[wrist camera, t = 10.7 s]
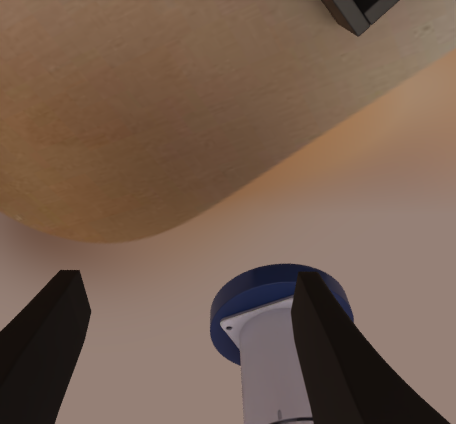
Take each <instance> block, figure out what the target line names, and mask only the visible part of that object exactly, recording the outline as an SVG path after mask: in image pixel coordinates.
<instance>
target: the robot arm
mask: <svg viewBox="0 0 456 424" xmlns="http://www.w3.org/2000/svg"><path fill="white" fill-rule="evenodd" d="M90 315H91V309H90V305H89V302H88V298H87V295H86V291H85V288H84V284H83V281H82V278H81V274H80V270H60V271H59V272H58V273H57V274H56V275H55V276H54V277H53V278H52V279H51V280H50V281H49V282H48V283H47V285H46V286H45V287H44V288H43V289H42V290H41V291H40V292H39V293H38V294H37V295H36V296H35V297H34V298H33V299H32V300H31V301H30V303H29V304H28V305H27V306H26V307H25V308H24V309H23V310H22V311H21V312H20V313H19V314H18V315H17V316H16V317H15V318H14V319H13V320H12V321H11V322H10V323H9V324H8V325H7V326H6V327H5V328H4V329H3V330H2V331H0V424H55V421H56V418H57V415H58V412H59V409H60V406H61V403H62V401H63V398H64V395H65V392H66V390H67V387H68V384H69V382H70V379H71V376H72V373H73V371H74V368H75V366H76V363H77V360H78V357H79V354H80V352H81V349H82V346H83V343H84V340H85V336H86V332H87V328H88V324H89V319H90ZM220 325H221V327H222V328H223V329H224V331H225V332H226V333H227V334H228V336H229V337H230V338H231V339H232V341H233V342H234V343H235V344H236V346H237V347H238V348H239V349H240V359H241V376H242V377H241V378H242V396H243V414H244V424H450V423H449V422H448V421H447V420H446V419H445V418H443V417H442V416H441V415H440V414H439V413H438V412H437V411H436V410H435V409H433V408H432V407H431V406H430V405H429V404H428V403H427V402H426V401H425V400H424V399H422V398H421V397H420V396H419V395H418V394H417V393H416V392H415V391H414V390H413V389H412V388H411V387H410V386H409V385H408V384H407V383H406V382H405V381H404V380H403V379H402V378H401V377H400V376H399V375H398V374H397V373H396V372H395V371H394V370H393V369H392V368H391V367H390V366H389V365H388V364H387V363H386V361H385V360H384V359H383V358H382V357H381V356H380V355H379V354H378V352H377V351H376V350H375V349H374V348H373V347H372V345H371V344H370V343H369V342H368V341H367V340H366V338H365V337H364V336H363V335H362V333H361V332H360V331H359V330H358V328H357V327H356V326H355V324H354V323H353V322H352V320H351V319H350V318H349V317H348V315H347V314H346V313H345V311H344V310H343V308H342V307H341V306H340V304H339V303H338V301H337V300H336V299H335V297H334V296H333V294H332V293H331V291H330V290H329V288H328V287H327V285H326V284H325V282H324V281H323V279H322V278H321V276H320V275H319V273H318V272H298V277H297V282H296V287H295V292H294V295H291V296H288V297H285V298H282V299H279V300H276V301H273V302H270V303H267V304H264V305H261V306H258V307H255V308H252V309H249V310H246V311H243V312H240V313H236V314H233V315H230V316H227V317H224V318H222V319H221V321H220Z"/></svg>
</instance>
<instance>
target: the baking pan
mask: <svg viewBox="0 0 456 424" xmlns="http://www.w3.org/2000/svg"><path fill="white" fill-rule="evenodd" d="M321 1H322V2H323V3H324V5H325V6H326V8H327V9H328V10H329V12H330V13H331V15H332V16H333V17H334V19H335V20H336V22H337V23H338V24H339V25H341V26H342V27H344V28H345V29H347V30H348V31H350V32H351V33H353V34H354V35H356V36H358V37H359V36H360V35H361V34H362V33H364V32H365V31H366V30H367V29H368V28H369V27H370V25H372V24H374V23H375V22H376V21H377V20H378V19H379V18H380V17H381V16H382V15H384V14H385V13H386V12H387V11H388V10H389V9H390V8H391V7H393V6H394V5H395V4H396V3H397V2H398V1H399V0H321Z"/></svg>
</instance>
